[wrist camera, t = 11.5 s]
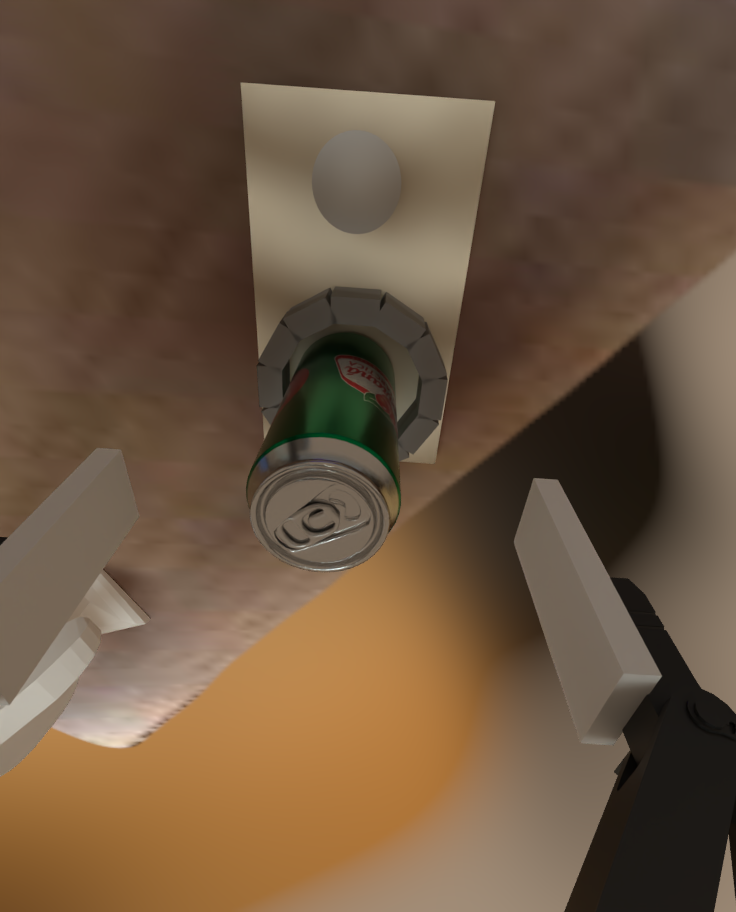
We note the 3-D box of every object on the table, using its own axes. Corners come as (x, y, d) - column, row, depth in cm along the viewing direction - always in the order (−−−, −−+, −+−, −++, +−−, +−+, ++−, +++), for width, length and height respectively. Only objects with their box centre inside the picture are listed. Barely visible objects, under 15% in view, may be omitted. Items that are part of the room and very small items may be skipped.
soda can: (412, 389, 25) (433, 541, 14) (336, 434, 26) (305, 601, 16) (358, 308, 23) (337, 420, 12) (279, 363, 24) (201, 502, 14)
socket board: (248, 87, 19) (195, 56, 14) (489, 104, 19) (527, 81, 14) (269, 441, 28) (242, 504, 23) (433, 453, 28) (443, 518, 23)
